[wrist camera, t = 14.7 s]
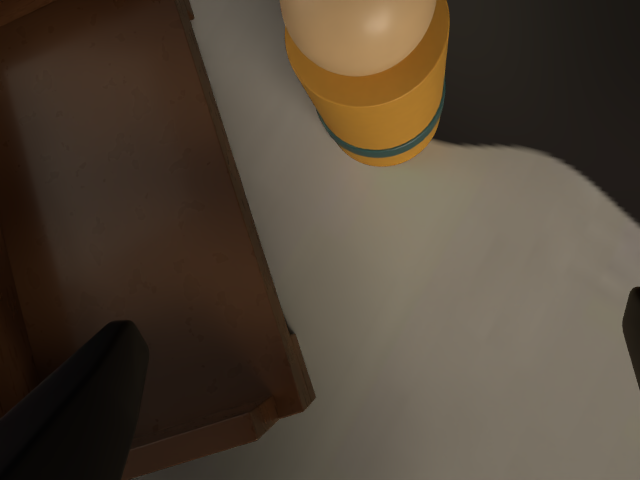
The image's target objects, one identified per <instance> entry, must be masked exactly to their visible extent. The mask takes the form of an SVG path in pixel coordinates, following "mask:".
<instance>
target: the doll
mask: <svg viewBox="0 0 640 480" xmlns="http://www.w3.org/2000/svg"><path fill="white" fill-rule="evenodd" d="M280 7H281V12H282V17H283V20H284V23H285V25H286V26H285V44H286V51H287V55H288V59H289V61H290V64H291V66H292V68H293V70H294V72H295V73H296V75H297V77H298V79H299V80H300V82H301V84H302V85H303V87H304V89H305V90H306V92H307V94H308V95H309V97H310V99H311V100H312V102H313V104H314V105H315V107H316V110H317V113H318V116H319V118H320V120H321V122H322V124H323V125H324V127H325V129H326V130H327V132H328V133H329V134H330V136H331V137H332V138H333V139H334V140H335V141H336V142H337V144H338V145H339V146H340V148H341V149H342V150H343V151H344V152H345V153H346V154H347V155H349V156H350V157H351V158H353V159H355V160H357V161H359V162H361V163H364V164H367V165H371V166H392V165H396V164H400V163H403V162H405V161H407V160H409V159H411V158H413V157H414V156H416V155H417V154H418V153H420V152H421V151H422V150H423V149H424V148H425V147H426V146H427V145H428V143H429V142H430V141H431V139H432V137H433V136H434V134H435V132H436V129H437V127H438V123H439V119H440V115H441V112H442V109H443V105H444V97H445V90H446V80H445V65H446V56H447V46H448V37H449V27H450V16H449V9H448V4H447V0H280Z"/></svg>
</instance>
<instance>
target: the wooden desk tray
mask: <svg viewBox="0 0 640 480" xmlns="http://www.w3.org/2000/svg"><path fill="white" fill-rule="evenodd" d="M193 19H194V15H193V11H192V8H191V5H190V2H189V0H0V419H1V418H2V417H3V416H4V415H5V414H6V413H7V412H8V411H10V410H11V409H12V408H13V407H14V406H15V405H16V404H17V403H19V402H20V401H21V400H22V399H23V398H24V397H25V396H26V395H28V394H29V393H30V392H31V391H32V390H33V389H34V388H35V387H37V386H38V385H39V384H40V383H41V382H42V381H43V380H44V379H46V378H47V377H48V376H49V375H50V374H51V373H52V372H53V371H55V370H56V369H57V368H58V367H59V366H60V365H61V364H62V363H64V362H65V361H66V360H67V359H68V358H69V357H70V356H72V355H73V354H74V353H75V352H76V351H77V350H78V349H79V348H81V347H82V346H83V345H84V344H85V343H86V342H87V341H88V340H90V339H91V338H92V337H93V336H94V335H95V334H96V333H97V332H99V331H100V330H101V329H102V328H103V327H104V326H105V325H106V324H108V323H109V322H111V321H118V320H131V321H132V322H134V323H135V325H136V326H137V328H138V330H139V331H140V333H141V335H142V336H143V338H144V340H145V341H146V343H147V345H148V348H149V363H148V368H147V373H146V379H145V384H144V390H143V395H142V400H141V406H140V411H139V417H138V421H137V426H136V430H135V434H134V438H133V441H132V445H131V448H130V451H129V455H128V458H127V462H126V465H125V468H124V472H123V475H122V478H121V480H129V479H132V478H135V477H138V476H142V475H145V474H148V473H152V472H155V471H158V470H162V469H165V468H168V467H171V466H175V465H178V464H181V463H185V462H188V461H191V460H194V459H198V458H201V457H204V456H208V455H211V454H214V453H218V452H221V451H224V450H227V449H231V448H234V447H237V446H241V445H244V444H247V443H250V442H254V441H257V440H258V439H259V438H260V437H261V436H262V435H263V434H264V433H265V432H267V431H268V430H269V429H270V428H271V427H272V426H273V425H274V424H275V423H276V422H277V421H278V420H279V419H281V418H285V417H288V416H291V415H294V414H297V413H301V412H303V411H305V409H306V408H307V407H308V406H309V405H310V404H311V403H312V402H313V401H314V399H315V398H316V396H315V393H314V390H313V387H312V384H311V381H310V378H309V375H308V371H307V368H306V365H305V362H304V359H303V356H302V353H301V350H300V346H299V343H298V340H297V337H296V334H289V331H288V327H287V324H286V321H285V318H284V315H283V312H282V309H281V305H280V302H279V299H278V296H277V293H276V290H275V287H274V283H273V280H272V277H271V274H270V271H269V268H268V265H267V261H266V258H265V255H264V252H263V249H262V246H261V243H260V239H259V236H258V233H257V230H256V227H255V224H254V220H253V217H252V214H251V211H250V208H249V205H248V202H247V198H246V195H245V192H244V189H243V186H242V183H241V180H240V176H239V173H238V170H237V167H236V164H235V161H234V158H233V154H232V151H231V148H230V145H229V142H228V139H227V136H226V132H225V129H224V126H223V123H222V120H221V117H220V113H219V110H218V107H217V104H216V101H215V98H214V95H213V91H212V88H211V85H210V82H209V79H208V76H207V73H206V69H205V66H204V63H203V60H202V57H201V54H200V51H199V47H198V44H197V41H196V38H195V35H194V32H193V29H192V25H191V22H190V20H193Z"/></svg>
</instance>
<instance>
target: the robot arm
mask: <svg viewBox="0 0 640 480" xmlns="http://www.w3.org/2000/svg"><path fill="white" fill-rule="evenodd" d="M622 327H623V333H624V337H625V341H626V344H627V348H628V351H629V355H630V358H631V361H632V365H633V368H634V372H635V375H636V379H637V382H638V386H639V389H640V287H635V288H633V289H632V290H631V291H630V294H629V297H628V301H627V305H626V309H625V313H624V317H623V322H622ZM148 363H149V348H148V345H147V343H146V341H145V340H144V338H143V336H142V335H141V333H140V331H139V330H138V328H137V326H136V325H135V323H134V322H132V321H131V320H118V321H111V322H109V323H108V324H106V325H105V326H104V327H103V328H102V329H101V330H100V331H99V332H97V333H96V334H95V335H94V336H93V337H92V338H91V339H90V340H88V341H87V342H86V343H85V344H84V345H83V346H82V347H81V348H79V349H78V350H77V351H76V352H75V353H74V354H73V355H72V356H70V357H69V358H68V359H67V360H66V361H65V362H64V363H62V364H61V365H60V366H59V367H58V368H57V369H56V370H55V371H53V372H52V373H51V374H50V375H49V376H48V377H47V378H46V379H44V380H43V381H42V382H41V383H40V384H39V385H38V386H37V387H35V388H34V389H33V390H32V391H31V392H30V393H29V394H28V395H26V396H25V397H24V398H23V399H22V400H21V401H20V402H19V403H17V404H16V405H15V406H14V407H13V408H12V409H11V410H10V411H8V412H7V413H6V414H5V415H4V416H3V417H2V418H1V419H0V480H121V478H122V475H123V472H124V468H125V465H126V462H127V458H128V455H129V451H130V448H131V445H132V441H133V438H134V434H135V430H136V426H137V421H138V417H139V411H140V406H141V400H142V395H143V390H144V384H145V379H146V373H147V368H148Z"/></svg>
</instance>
